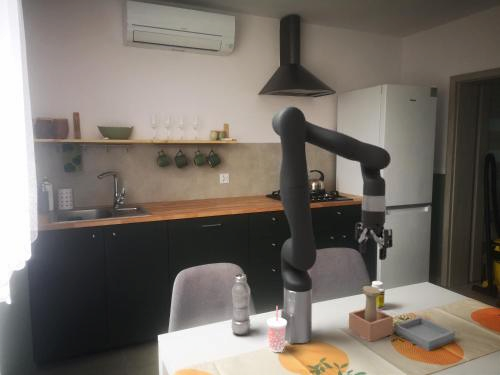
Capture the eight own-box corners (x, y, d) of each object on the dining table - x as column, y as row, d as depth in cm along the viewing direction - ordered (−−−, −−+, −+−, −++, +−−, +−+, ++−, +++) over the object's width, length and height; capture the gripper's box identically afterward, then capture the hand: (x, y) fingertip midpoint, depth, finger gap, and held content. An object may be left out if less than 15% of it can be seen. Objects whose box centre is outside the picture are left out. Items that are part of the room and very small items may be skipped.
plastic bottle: (227, 334, 125) (227, 277, 123) (237, 326, 131) (237, 271, 129) (244, 338, 122) (244, 280, 120) (254, 330, 128) (253, 274, 126)
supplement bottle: (379, 312, 142) (380, 286, 141) (366, 307, 146) (367, 282, 145) (386, 307, 146) (387, 282, 145) (373, 303, 150) (374, 279, 149)
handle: (371, 326, 130) (372, 285, 129) (381, 335, 124) (383, 292, 122) (359, 328, 129) (360, 286, 127) (368, 337, 123) (370, 293, 121)
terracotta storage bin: (369, 342, 120) (370, 324, 119) (348, 329, 128) (349, 312, 128) (392, 334, 125) (393, 317, 124) (370, 322, 133) (371, 306, 132)
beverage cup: (274, 342, 120) (274, 300, 119) (290, 348, 116) (290, 305, 115) (263, 349, 115) (263, 306, 114) (279, 356, 111) (279, 312, 110)
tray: (428, 351, 114) (428, 341, 114) (394, 333, 125) (394, 324, 125) (454, 340, 120) (455, 332, 120) (419, 324, 132) (419, 316, 131)
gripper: (349, 206, 127) (348, 252, 128) (382, 212, 114) (380, 263, 116) (365, 204, 130) (364, 249, 132) (399, 210, 118) (397, 260, 119)
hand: (372, 256), depth 124 cm, fingers open, 8 cm apart
